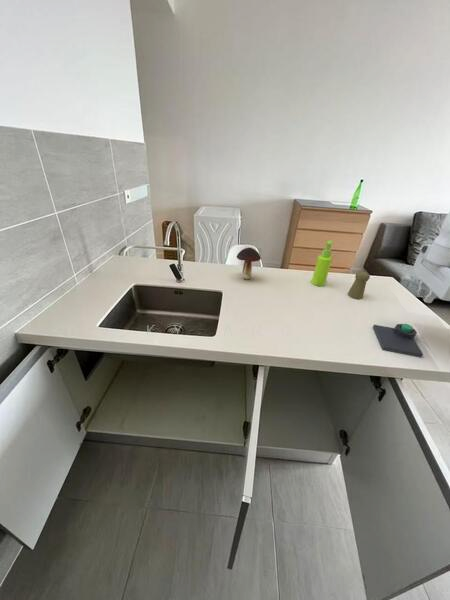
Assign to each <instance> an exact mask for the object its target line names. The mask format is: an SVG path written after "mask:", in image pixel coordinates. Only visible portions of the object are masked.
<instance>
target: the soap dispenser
mask: <svg viewBox="0 0 450 600" xmlns="http://www.w3.org/2000/svg"><path fill="white" fill-rule="evenodd" d="M333 243H334V240H331V239H328V240H327V241H326V243H325V244H326V245H325V248H323V249H322V252H321V254H319V255H318V256H317V260H316V263H315V267H314V271H313V275H312V279H311V284H312V285H313V286H315V287H324V286H325V285H326V281H327V278H328V275H329V272H330V267H331V265H332V261H333V257H332V256H331V255H332V254H331V253H332V249H331V245H332V244H333Z"/></svg>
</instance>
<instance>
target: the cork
mask: <svg viewBox="0 0 450 600" xmlns="http://www.w3.org/2000/svg"><path fill="white" fill-rule="evenodd" d="M370 277H371V276H370V274H369V273H368V272H366V271H363V270H361V271H357V272H356V273H355V278H354V279H355V280H354V281H353V283H352V285H351V287H350V288H349V291H348V292H347V296H348V297H349V298H351V299H355V300H363V298H364V295H365V294H364V293H365V290H366V285H367V282H368V281H369V280H370Z"/></svg>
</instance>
